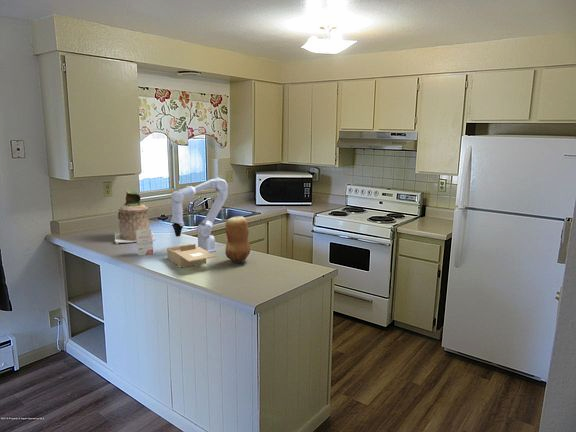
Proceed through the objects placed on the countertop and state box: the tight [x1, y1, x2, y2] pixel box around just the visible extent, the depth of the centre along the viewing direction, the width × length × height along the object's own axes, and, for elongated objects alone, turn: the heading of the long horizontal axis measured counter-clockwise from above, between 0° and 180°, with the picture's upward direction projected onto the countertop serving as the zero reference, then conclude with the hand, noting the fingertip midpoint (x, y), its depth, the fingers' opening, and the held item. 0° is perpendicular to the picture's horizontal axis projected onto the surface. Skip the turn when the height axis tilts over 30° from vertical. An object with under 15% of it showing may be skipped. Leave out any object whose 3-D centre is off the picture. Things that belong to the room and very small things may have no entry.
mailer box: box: [166, 243, 207, 268], centre depth 231 cm, size 14×20×6 cm
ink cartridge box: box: [136, 228, 154, 256], centre depth 243 cm, size 9×5×15 cm, turn 105°
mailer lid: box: [173, 243, 217, 262], centre depth 221 cm, size 15×21×3 cm
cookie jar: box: [114, 190, 156, 245], centre depth 275 cm, size 25×25×32 cm
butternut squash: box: [225, 215, 251, 264], centre depth 227 cm, size 14×13×25 cm
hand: (178, 236), depth 242 cm, fingers closed
